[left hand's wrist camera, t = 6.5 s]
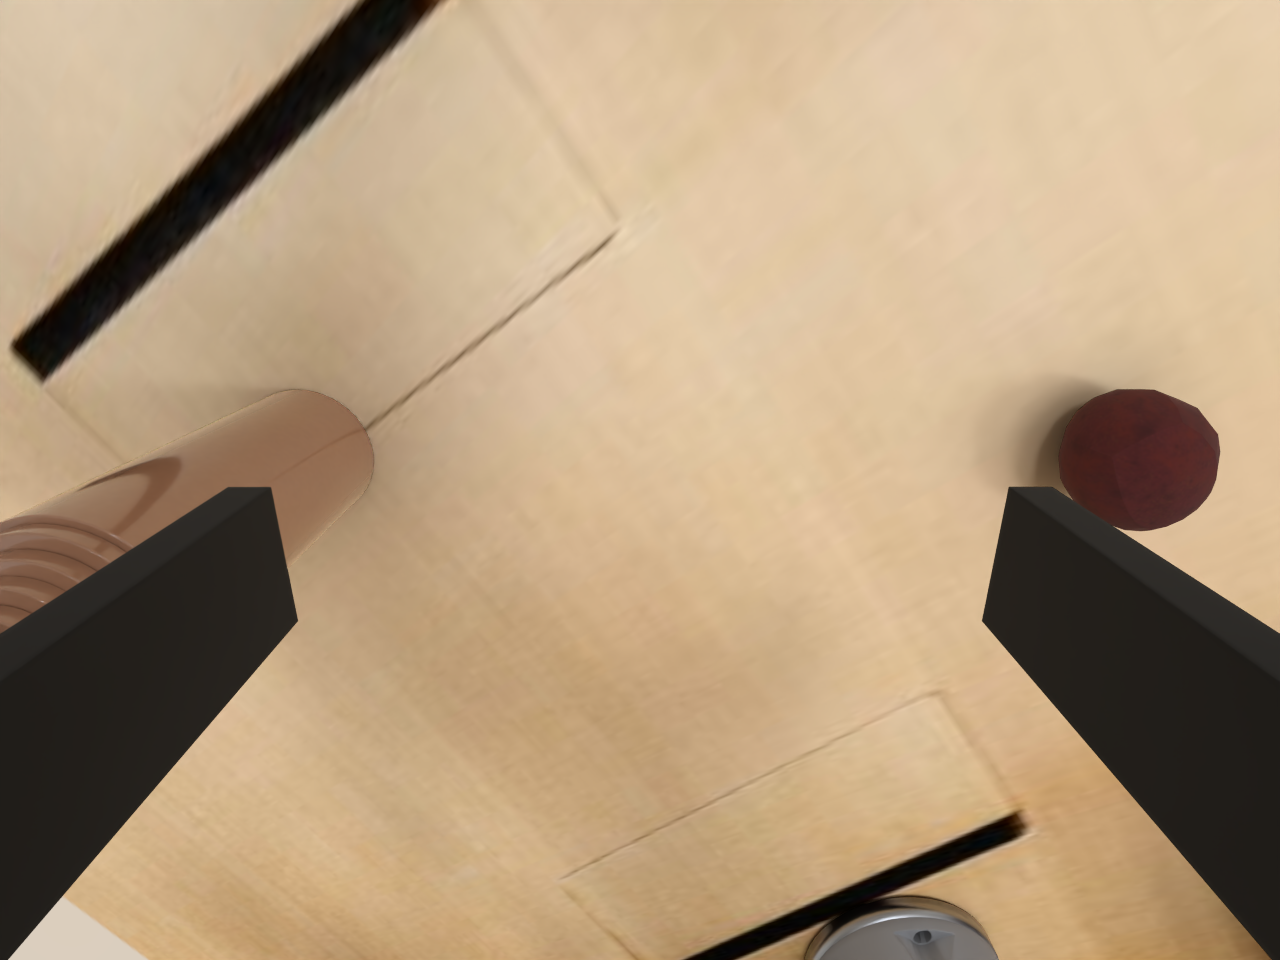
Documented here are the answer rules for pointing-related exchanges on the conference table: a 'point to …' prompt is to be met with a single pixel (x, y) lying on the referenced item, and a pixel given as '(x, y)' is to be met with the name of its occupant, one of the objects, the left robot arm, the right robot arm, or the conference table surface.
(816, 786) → the conference table surface
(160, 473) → the bottle
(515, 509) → the conference table surface
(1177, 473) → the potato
